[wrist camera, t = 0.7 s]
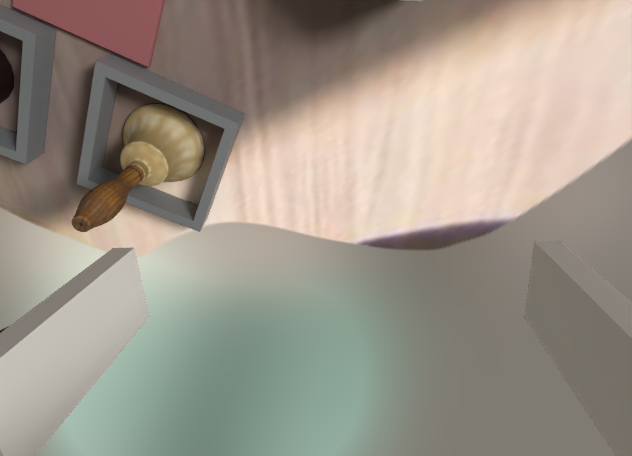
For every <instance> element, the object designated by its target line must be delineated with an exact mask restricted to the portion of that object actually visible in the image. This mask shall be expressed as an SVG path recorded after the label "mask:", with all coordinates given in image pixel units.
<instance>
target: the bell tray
mask: <svg viewBox="0 0 632 456" xmlns="http://www.w3.org/2000/svg"><path fill="white" fill-rule="evenodd" d="M118 83H121V84H123V85H125V86H127V87H130V88H132V89H134V90H137V91H139V92H141V93H143V94H146V95H148V96H150V97H153V98H155V99H157V100H160V101H162V102H164V103H166V104H169V105H171V106H173V107H176V108H178V109H180V110H182V111H185V112H187V113H189V114H192V115H194V116H196V117H199V118H201V119H203V120H205V121H208V122H210V123H212V124H215V125H217V126H219V127H222V128H224V132H223V135H222V138H221V141H220V144H219V147H218V150H217V153H216V156H215V159H214V162H213V165H212V167H211V170H210V173H209V176H208V179H207V182H206V185H205V188H204V191H203V194H202V197H201V200H200V203H199V206H197V205H195V204H192V203H190V202H187V201H185V200H182V199H180V198H177V197H175V196H172V195H170V194H167V193H165V192H162V191H160V190H157V189H155V188H152V187H149V186H145V185H141V184H137V185H136V186H135V187H134V188H133V189H132V190H131V191H130V192H129V194H128V197H127V200H126V203H127V204H129V205H132V206H134V207H137V208H140V209H142V210H145V211H147V212H150V213H152V214H155V215H158V216H160V217H163V218H165V219H168V220H170V221H173V222H176V223H178V224H181V225H183V226H186V227H189V228H191V229H194V230H196V231H199V232H200V231H201V229H202V227H203V225H204V223H205V221H206V219H207V217H208V215H209V212H210V209H211V206H212V203H213V201H214V198H215V195H216V192H217V190H218V187H219V184H220V181H221V179H222V176H223V173H224V170H225V167H226V165H227V162H228V159H229V156H230V154H231V151H232V148H233V145H234V142H235V140H236V137H237V134H238V131H239V129H240V126H241V123H242V120H243V118H244V115H245V114H244V113H242V112H240V111H237V110H235V109H233V108H231V107H228V106H226V105H224V104H222V103H219V102H217V101H215V100H213V99H210V98H208V97H206V96H204V95H202V94H199V93H197V92H195V91H193V90H190V89H188V88H186V87H184V86H181V85H179V84H177V83H175V82H172V81H170V80H168V79H166V78H163V77H161V76H159V75H157V74H154V73H152V72H150V71H148V70H145V69H143V68H141V67H139V66H137V65H134V64H132V63H130V62H128V61H125V60H123V59H121V58H119V57H116V56H114V55H109V56H106V57H104V58H101V59H99V60H96V61H95V68H94V74H93V81H92V87H91V94H90V100H89V107H88V113H87V120H86V126H85V133H84V139H83V146H82V152H81V159H80V165H79V172H78V178H77V184H78V185H80V186H83V187H85V188H88V189H90V190H92V189H93V188H94V187H96V186H97V185H99V184H101V183H103V182H106V181H110V180H113V179H115V178H116V177H117V176H118V175H119V174H117V173H114V172H112V171H109V170H107V169H104V168H102V166H103V161H104V156H105V150H106V145H107V139H108V134H109V129H110V123H111V118H112V113H113V107H114V102H115V97H116V91H117V86H118Z"/></svg>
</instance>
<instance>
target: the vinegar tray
mask: <svg viewBox="0 0 632 456" xmlns="http://www.w3.org/2000/svg"><path fill="white" fill-rule="evenodd" d="M0 31H1V32H3V33H6V34H8V35H10V36H13V37H15V38H17V39H20V40H22V41H23V46H22V62H21V78H20V94H19V109H18V125H17V134H16V133H14V132H11V131H9V130H6V129H4V128H1V127H0V155H3V156H5V157H8V158H10V159H13V160H16V161H18V162H21V163H23V164H27V163H29V162H30V161H32V160H33V159H35V158H37V157H38V156H40V155H41V154H43V153H44V146H45V136H46V126H47V116H48V106H49V97H50V87H51V77H52V67H53V57H54V47H55V37H56V29H54V28H51V27H49V26H47V25H45V24H42V23H40V22H38V21H36V20H33V19H31V18H29V17H27V16H24V15H22V14H20V13H18V12H15V11H13V10H11V9H9V8H6V7H4V6H2V5H0Z"/></svg>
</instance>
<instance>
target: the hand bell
mask: <svg viewBox="0 0 632 456" xmlns="http://www.w3.org/2000/svg"><path fill="white" fill-rule="evenodd" d="M123 141H124V145H125V147H124V148H123V150H122V152H121V156H120V161H121V166H122V168H123V171H122V172H121V173H120V174H119V175H118V176H117V177H116V178H115V179H113V180H110V181H106V182H103V183H101V184H99V185H97V186H96V187H94V188H93V189H92V190H90V191H89V192H88V193H87V194H86V195H85V196H84V197H83V198H82V200H81V202H80V204H79V206H78V209H77V212H76V214H75V216H74V217H73V219H72V225H73V227H74V228H75V229H76V230H78V231H80V232H87V231H88V230H90V229H92V228H94V227H97V226H100V225H102V224H104V223H107V222H108V221H110V220H111V219H113V218H114V217H115V216H116V215H117V214H118V213H119V211H120V210H121V209H122V207H123V206H124V204H125V203H126V200H127V197H128V194H129V192H130V191H131V190H132V189H133V188H134V187H135V186H136V185H137V184H141V185H145V186H154V185H158V184H160V183H162V182H163V181H169V182H174V181H181V180H184V179H187V178H189V177H191V176H192V175H194V174H195V173H196V172H197V171H198V169H199V168H200V166H201V165H202V162H203V158H204V143H203V139H202V136H201V134H200V132H199V130H198V128H197V127H196V125H195V124H194V123H193V121H192V120H191V119H190V118H189V117H187V116H186V115H185V114H184V113H182V112H181V111H179V110H177V109H175V108H173V107H170V106H167V105H163V104H148V105H144V106H141V107H139V108H137V109H136V110H134V111H133V112H132V113H131V114H130V115H129V116H128V118H127V120H126V122H125V125H124V129H123Z"/></svg>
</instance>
